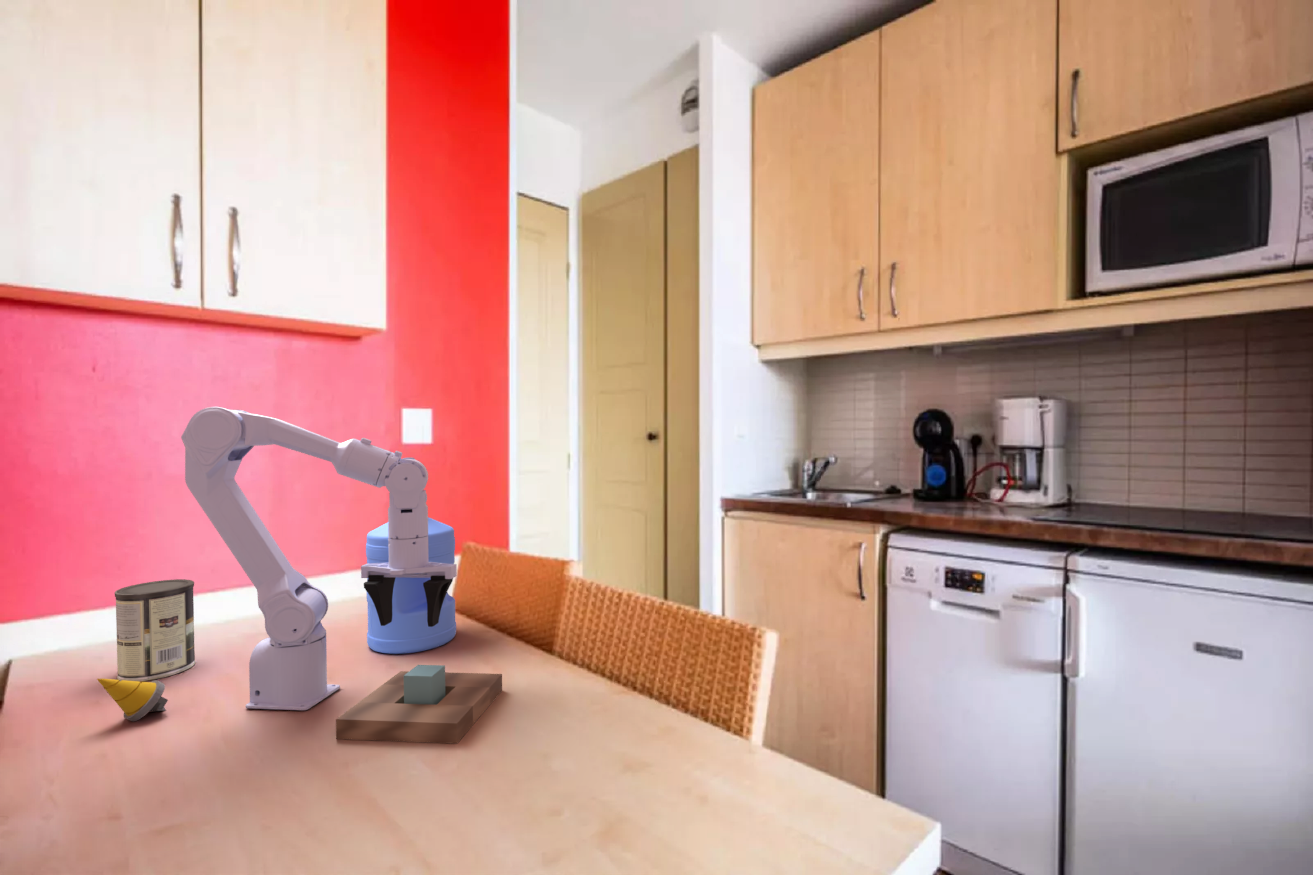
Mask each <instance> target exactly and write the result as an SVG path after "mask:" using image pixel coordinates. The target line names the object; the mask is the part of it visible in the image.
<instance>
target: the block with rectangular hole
mask: <svg viewBox="0 0 1313 875" xmlns="http://www.w3.org/2000/svg"><path fill="white" fill-rule="evenodd" d="M409 671H410V670H409ZM409 671H408V670H405V671H404V670H402V671H399V672H398V673H397V674H395V675H394V676H392V677H391V678H390V679H388V680H387V681H386V682H384V683H383V684H382V685H380V686H379V687H377V688H376V689H375V690H373V691H372V692H370V693H369V694H368V695H367V696H365V697H364V698H363V699H361V700H359V702H357V703H356V704H354V705H353V706H351V707H350V708H349V709H348V710H346V711H345V712H344V713H342V714H341V715H340V716H337V718H336V719H335V739H337V740H358V741H360V740H361V741H381V742H382V741H384V742H407V743H409V742H410V743H411V742H412V743H414V742H415V743H430V744H431V743H434V744H435V743H437V744H458V743H459V742H460V741H461V740H462V738H463V737H464V736H465V735H466V734H467V733H468V731H469V730H470V729H471V728H472V726H474V725H475V723H476V722H477V721H478V720H479V718H481V716H482V715H483V714H484V712H486V710H487V709H488V708H489V707H490V705H491V704H492V703H493V702H494V701H495V700H496V699H497V697H498V696H499V695H500V694H501V692H503V674H502V673H483V672H482V673H480V672H479V673H477V672H446V671H445V697H444V698H443V699H442V700H441V701H440V702H439V703H438V704H437V705H430V704H404V675H405V674H406V673H408V672H409Z"/></svg>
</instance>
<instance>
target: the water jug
mask: <svg viewBox="0 0 1313 875" xmlns="http://www.w3.org/2000/svg"><path fill="white" fill-rule="evenodd" d="M388 538H389V537H388V521H387V522H386V523H384V524H382V525H380V526H378V527H376V528H375V529H373V530H370V531H368V533H367V535H366V544H365V555H366V564H368V563H388V562H389V547H388ZM455 551H456V537H455V530H454V527H452V526H450V525H449V524H446V523H444V522H441V521H440V520H439V521H438V520H436V519H433V518H432V517H429V516H428V562H436V563H446V564H455V560H456V559H455ZM415 574H418V573H415ZM366 579H367V580H368V578H366ZM367 580H366V581H367ZM428 580H431V578H406V577H396V578H395V582H394V588H393V596H392V622H390V623H389V624H387V625H385V626H381V624H380V621H379V617H378V614H377V611H376V608H375V605H374V603H373V601H372V599H371V597H370V596H369V594H368V592H367V591H366V590H365V591H366V603H367V633H366V643H367V645H368V647H369V648H370V649H371V650H372V651H374V652H378V653H381V654H389V655H391V654H392V655H398V654H399V655H401V654H402V655H404V654H413V653H419V652H424V651H429V650H432V649H437V648H438V647H441V646H443V645H445V644H447V643H449V642H450V641H452V640H453V639H454V638H455V636H456V635H457V622H456V599H455V597H454V596H452V595H450V594H449V593H448V591H447V593H446V596H445V598H444V601H443V604H442V607H441V611H440V616H439V622H438V623H437V624H436V625H434V626H433V627H428V622H427V600H426V594H425V590H424V586H423V583H424V582H426V581H428Z"/></svg>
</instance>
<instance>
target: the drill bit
mask: <svg viewBox="0 0 1313 875" xmlns="http://www.w3.org/2000/svg"><path fill="white" fill-rule="evenodd" d="M96 680H97V681H98V683H99V684H100V685H101V686H102V687H103V688H104V690H105V691H106V692H107V693H108V695H109V696H110V697H111V699H112V700H113V701H114V702H115V703H116V704H117V706H118V707H119V708H120V709H121V710H122V712H123V718H124V719H126V720H128V721H131V722H136V721H138V720H141V719H142V718H143V717H144V716H146V715H147V714H148V713H150V712H151V713H152V712H163V711H167V709H166V708H165V706H166V704H167V703H168V701H169V700H168V699H167V698H165V697H163V693H164V692H165V687H166V685H165V683H164V682H162V681H160V680H159V679H155V680H150V681H127V680H122V681H119V680H118V679H113V678H96Z"/></svg>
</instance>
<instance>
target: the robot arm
mask: <svg viewBox="0 0 1313 875" xmlns="http://www.w3.org/2000/svg"><path fill="white" fill-rule="evenodd" d="M180 439H181V440H182V444H183V445H184V453H185V455H184V456H185V457H184V460H185V462H184V463H185V464H184V468H185V469H184V482H185V485H186V486H187V488H188V490H189V491H190V493H191V494H192V496H193V497H194V499H195V500H196V501H197V503H198V505H199V506H200V508H201V509H202V511H204V513H205V515H206V516H207V518H208V519H209V521H210V522H211V524H212V526H214V528H215V530H216V531H217V533H218V534H219V536H220V537H221V538H222V540H223V541H224V544H226V547H228V548H229V550H230V552H231V554H232V555H233V556H234V558H235V559H236V561H237V562H238V564H239V565H240V567H241V568H242V570H243V571H244V572H245V574H246V576H247V577H248V578H249V580H250V582H251V583H252V584H253V586H254V587H255V589H256V592H257V594H256V595H257V604H258V605H257V606H258V609H259V610H260V611H261V614H263V617H264V628H265V633H266V634H267V636H268V637H266V638H264V639H262V640H260V641H259V642H257V644H256V645H255V646H254V648H253V650H252V652H251V655H250V657H249V663H248V664H249V666H248V668H249V669H248V673H249V674H248V676H249V678H248V679H249V702H248V703H246V704H245V709H254V710H257V709H259V710H260V709H261V710H286V711H287V710H288V711H289V710H290V711H307V710H309V709H311V708H313V707H314V706H316V705H317V704H319V702H321V701H324V699H326V698H328V697H329V696H330V695H332V694H333V693H336V692H337V691H338V690H339V689H340V688H341V684H329V683H328V673H327V672H328V669H327V668H328V667H327V666H328V663H327V661H328V659H327V657H328V656H327V650H328V649H327V647H328V646H327V630H326V629H325V627H324V626H323V624H322V622H321V621H322V620H323V619H324V618H325V617H326V615H327V613H328V610H329V601H328V598H327V595H326V594H325V593H324V591H322V589H320V588H318V587H316V586H314V585H313V584H311V583H310V582H309V581H308V578H306V576H305V575H303V574H302V573H300V572H299V571H298V570H296V569H295V568H294V567H293V566H292V565H291V563H290V562H289V559H288V558H287V556H286V555H285V554H284V552H283V550H282V549H281V548H280V547H279V545H278V543H277V542H276V540H275V539H274V537H273V536H272V534H271V533H270V531H269V529H268V528H267V527H266V525H265V524H264V522H263V520H262V519H261V518H260V516H259V515H258V513H257V512H256V510H255V509H254V507H253V505H252V504H251V503H250V501H249V500H248V498H247V496H246V495H245V493H244V492H243V491H242V489H241V488H240V486H239V484H238V483H237V482H236V480H235V477H236V474H237V473H238V469H239V468H240V465H241V462H242V461H243V458H244V457H245V456H246V455H247V454H248V453H249V452H250V451H251V450H252V449H253V448H254V447H256V446H257V447H258V446H272V445H276V446H279V447H283V448H285V449H289V450H291V451H294V452H298V453H302V454H304V455H306V456H307V455H308V456H311V457H314V458H318V459H321V460H324V461H327V462H330V463H331V464H332V465H333V467H334V470H335V471H336V473H337V474H338V475H341V476H343V477H347V478H350V479H352V480H355V481H358V482H361V483H364V484H368V485H370V486H373V487H375V488H378V489H381V488H382V487H385V488H386V489H387V490H388V492H389V493H388V494H389V506H388V508H387V517H388V518H387V522H388V537H389V538H388V547H389V562H388V563H368V564H367V563H365V564H363V565H361V566H360V578H361V579H367V578H368V580H366V581H365V582H363V589H365V591H367V592H368V594H369V596H370V597H371V599H372V601H373V603H374V605H375V608H376V611H377V614H378V617H379V621H380V624H381V626H385V625H387V624H389V623H390V622H392V596H393V588H394V582H395V578H396V577H406V578H431V580H428V581H426V582H424V583H423V586H424V590H425V594H426V600H427V622H428V627H433V626H434V625H436V624H437V623H438V622H439V616H440V611H441V607H442V604H443V601H444V598H445V596H446V593H447V592H448V591H449V589H450V587H451V585H452V583H453V580H454V578H456V577H457V575H458V574H457V571H458V570H457V563H454V564H446V563H436V562H428V517H429V512H428V511H429V506H428V505H427V502H428V494H427V490H426V489H425V488H426V487H427V483H428V481H429V472H428V469H427V468H426V466H425V465H424V463H422V462H421V461H419V460H417V459H415V457H411V456H410V457H409V456H408V457H403V452H401V451H398V450H395V452H392V451H391V450H387V449H384V448H382V447H379V446H376V445H373V444H372V440H371V439H368V438H366V437H362V438H361V439H360V440H359V439H357V438H351V439H348V440H346V441H343V442H339V441H337V440H335V439H331V438H329V437H327V436H323V435H322V434H318V433H316V432H313V431H311V430H308V429H305V428H303V427H301V426H298V425H295V424H292V423H290V422H289V421H285V420H282V419H279V418H275V417H271V416H266V415H261V414H257V413H250V412H248V411H245V410H243V409H229V408H228V409H227V408H224V407H222V406H221V407H219V406H210V407H209V406H208V407H204V408H203V409H200V410H198V411H197V412H196V413H194V414H193V415H192V416H191V418H190V419H189V421H188V423H187V425H186V426H185V428H184V431H183V433H182V435H181V437H180ZM402 457H403V458H402ZM415 573H418V574H415ZM367 592H366V593H367Z"/></svg>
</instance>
